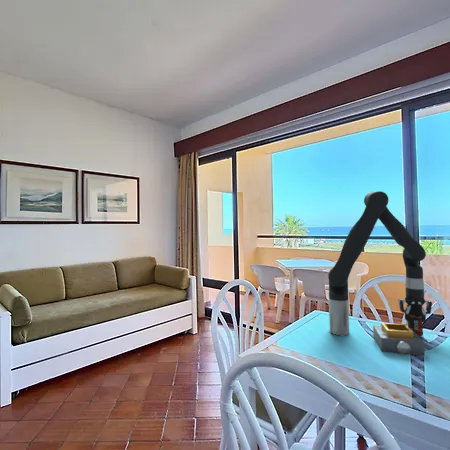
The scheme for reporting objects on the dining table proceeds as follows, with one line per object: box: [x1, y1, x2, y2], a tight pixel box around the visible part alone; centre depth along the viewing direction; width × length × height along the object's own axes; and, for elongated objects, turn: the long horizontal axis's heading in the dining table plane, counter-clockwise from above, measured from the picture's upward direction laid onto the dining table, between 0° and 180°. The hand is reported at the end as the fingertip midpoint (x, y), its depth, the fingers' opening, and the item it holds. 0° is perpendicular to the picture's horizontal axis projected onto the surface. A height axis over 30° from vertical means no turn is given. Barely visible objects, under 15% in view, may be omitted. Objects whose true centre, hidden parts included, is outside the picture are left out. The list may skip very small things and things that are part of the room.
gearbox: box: [372, 322, 425, 357], centre depth 128 cm, size 16×18×8 cm
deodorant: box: [407, 303, 424, 337], centre depth 139 cm, size 6×6×15 cm
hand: (415, 321), depth 139 cm, fingers closed on deodorant, 6 cm apart
